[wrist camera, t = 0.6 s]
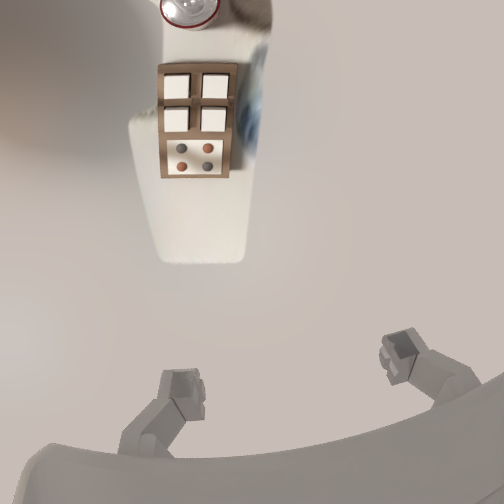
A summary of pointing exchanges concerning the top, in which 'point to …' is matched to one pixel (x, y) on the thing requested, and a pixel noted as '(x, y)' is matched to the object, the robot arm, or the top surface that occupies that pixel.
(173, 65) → the button board
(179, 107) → the button
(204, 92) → the button
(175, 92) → the button
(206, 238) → the top surface
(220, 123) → the button
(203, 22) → the soda can
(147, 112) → the top surface
